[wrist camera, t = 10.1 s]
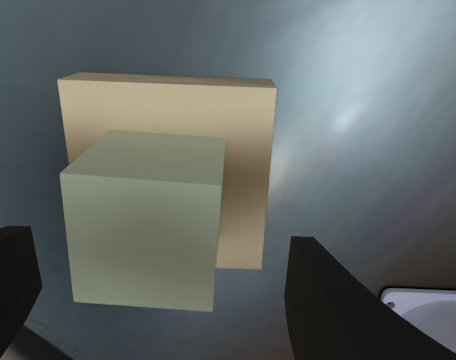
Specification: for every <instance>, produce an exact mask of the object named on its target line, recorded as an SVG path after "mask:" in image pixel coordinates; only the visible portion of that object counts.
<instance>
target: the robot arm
mask: <svg viewBox="0 0 456 360" xmlns="http://www.w3.org/2000/svg"><path fill="white" fill-rule="evenodd" d="M41 289H42V282H41V277H40V272H39V267H38V262H37V257H36V252H35V247H34V241H33V236H32V231H31V227H30V226H6V227H3V228H0V358H1V356H2V355H3V354H4V352H5V350H6V349H7V348H8V346H9V345H10V343H11V342H12V340H13V339H14V337H15V336H16V334H17V333H18V331H19V330H20V328H21V327H22V325H23V324H24V322H25V321H26V319H27V317H28V315H29V313H30V311H31V310H32V308H33V306H34V304H35V302H36V299H37V297H38V295H39V293H40V291H41ZM284 298H285V307H286V317H287V325H288V332H289V336H290V341H291V345H292V349H293V353H294V358H295V360H456V291H448V290H425V289H402V288H388V289H386V290H385V291H383V293H382V295H381V299H379V298H377V297H376V296H375V295H374V294H373V293H371V292H370V291H369V290H368V289H367V288H366V287H365V286H363V285H362V284H361V283H360V282H359V281H358V280H357V279H356V278H355V277H353V276H352V275H351V274H350V273H349V272H348V271H347V270H346V269H345V268H344V267H343V266H342V265H341V264H340V263H339V262H338V261H337V260H336V259H335V258H334V257H333V256H332V255H331V254H330V253H329V252H328V251H327V250H326V249H325V248H324V247H323V246H322V245H321V244H320V243H319V242H318V241H317V240H316V239H315V238H314V237H297V236H291V242H290V251H289V260H288V268H287V277H286V286H285V294H284ZM389 302H392V303H391V304H388V305H387V303H389Z"/></svg>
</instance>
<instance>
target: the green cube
mask: <svg viewBox="0 0 456 360" xmlns="http://www.w3.org/2000/svg"><path fill="white" fill-rule="evenodd" d="M225 146H226V139H221V138H208V137H195V136H183V135H170V134H157V133H144V132H131V131H118V130H110V131H108V132H107V133H106V134H105V135H104V136H103V137H101V138H100V139H99V140H98V141H97V142H96V143H94V144H93V145H92V146H91V147H90V148H89V149H87V150H86V151H85V152H84V153H83V154H82V155H80V156H79V157H78V158H77V159H76V160H75V161H73V162H72V163H71V164H70V165H69V166H68V167H66V168H65V169H64V170H63V171H62V172H61V173H60V182H61V191H62V200H63V209H64V218H65V227H66V236H67V245H68V254H69V263H70V272H71V281H72V290H73V299H74V302H83V303H97V304H110V305H124V306H138V307H151V308H165V309H179V310H192V311H206V312H213V300H214V287H215V275H216V263H217V251H218V239H219V226H220V212H221V199H222V186H223V172H224V159H225Z"/></svg>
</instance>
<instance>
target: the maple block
mask: <svg viewBox="0 0 456 360" xmlns="http://www.w3.org/2000/svg"><path fill="white" fill-rule="evenodd" d="M57 81H58V88H59V95H60V103H61V110H62V117H63V124H64V132H65V139H66V146H67V153H68V161H69V165H70V164H71V163H72V162H73V161H75V160H76V159H77V158H78V157H79V156H80V155H82V154H83V153H84V152H85V151H86V150H87V149H89V148H90V147H91V146H92V145H93V144H94V143H96V142H97V141H98V140H99V139H100V138H101V137H103V136H104V135H105V134H106V133H107V132H108V131H110V130H118V131H131V132H144V133H157V134H170V135H183V136H195V137H208V138H221V139H226V146H225V159H224V172H223V186H222V199H221V212H220V226H219V239H218V251H217V263H216V268H233V269H259V270H261V265H262V254H263V242H264V230H265V219H266V207H267V196H268V184H269V173H270V161H271V149H272V138H273V126H274V115H275V103H276V91H277V88H276V86H275V85H274V83H273V82H272V80H268V79H243V78H218V77H193V76H168V75H143V74H118V73H93V72H79V73H76V74H73V75H70V76H67V77H64V78H61V79H58V80H57Z"/></svg>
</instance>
